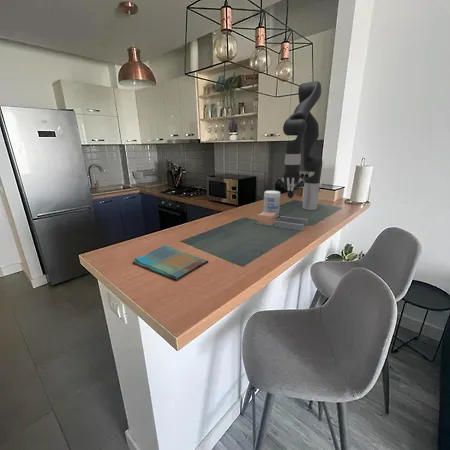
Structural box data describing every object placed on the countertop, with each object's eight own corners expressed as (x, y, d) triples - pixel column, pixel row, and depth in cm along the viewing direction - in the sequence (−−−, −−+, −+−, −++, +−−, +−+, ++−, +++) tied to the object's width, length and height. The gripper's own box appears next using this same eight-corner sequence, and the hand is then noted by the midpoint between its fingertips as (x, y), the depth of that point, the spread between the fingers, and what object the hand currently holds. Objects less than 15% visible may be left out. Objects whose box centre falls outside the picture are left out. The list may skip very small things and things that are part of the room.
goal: (262, 218, 145) (262, 217, 145) (279, 220, 141) (279, 219, 140) (255, 224, 136) (255, 223, 135) (272, 226, 131) (272, 225, 131)
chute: (280, 220, 140) (280, 215, 139) (307, 224, 133) (308, 219, 132) (273, 226, 131) (274, 221, 130) (302, 231, 124) (303, 225, 123)
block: (262, 220, 143) (262, 211, 142) (275, 222, 139) (276, 213, 138) (257, 223, 137) (257, 214, 136) (271, 225, 134) (272, 216, 132)
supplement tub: (267, 218, 144) (268, 193, 140) (260, 214, 153) (261, 191, 148) (282, 217, 147) (283, 192, 142) (274, 213, 156) (275, 189, 151)
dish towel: (166, 249, 106) (166, 243, 106) (209, 263, 93) (209, 257, 93) (132, 264, 93) (131, 258, 92) (176, 283, 80) (175, 276, 79)
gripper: (307, 162, 122) (305, 197, 128) (281, 162, 129) (280, 195, 134) (304, 164, 116) (301, 200, 122) (277, 163, 122) (275, 198, 128)
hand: (290, 197), depth 128 cm, fingers closed
